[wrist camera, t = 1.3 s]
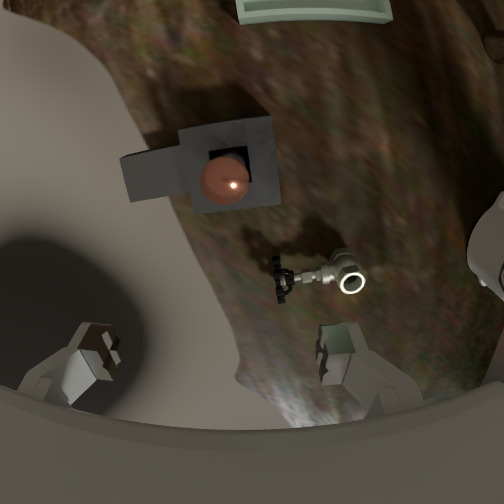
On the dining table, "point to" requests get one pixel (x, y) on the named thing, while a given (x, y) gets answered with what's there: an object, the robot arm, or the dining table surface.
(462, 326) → the dining table surface
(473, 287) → the dining table surface
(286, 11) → the tray
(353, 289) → the valve
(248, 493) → the robot arm
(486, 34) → the beer glass
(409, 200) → the dining table surface
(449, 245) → the dining table surface
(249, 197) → the block
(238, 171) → the hitch pin
